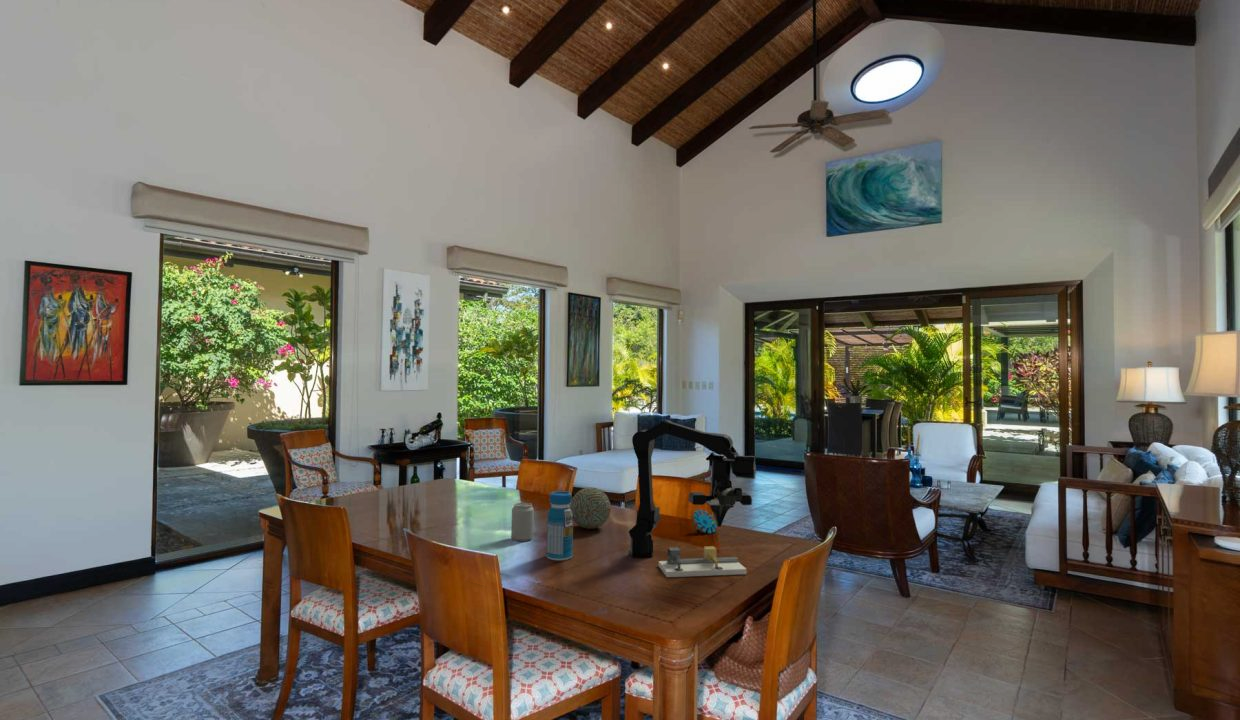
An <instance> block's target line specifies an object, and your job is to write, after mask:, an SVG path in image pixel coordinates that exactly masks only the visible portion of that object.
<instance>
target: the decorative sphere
mask: <svg viewBox="0 0 1240 720" xmlns="http://www.w3.org/2000/svg"><path fill="white" fill-rule="evenodd" d="M610 501H611V500H610V498H609V496H608V495H607V494H606V493H605V492H604V491H603V490H601V489H599V488H597V487H594V486H593V487H592V486H591V487H590V486H589V487H584V488H582V489H580V490H578V491H577V492H576V493H575V494H574V496H572V497H571V504H570V505H569V506H570V507H571V509H572V511H573V518H572V520H573V522H575V524H577V525H578V526H580V528H583V529H587V530H593V529H597V528H599V527H601V526H603V525H604V524H605V523H606V522H607V521H608V519H609V517H610V514H611V502H610Z"/></svg>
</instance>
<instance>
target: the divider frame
mask: <svg viewBox="0 0 1240 720" xmlns="http://www.w3.org/2000/svg"><path fill="white" fill-rule="evenodd" d="M716 560H717V561H718V563H723V562H739V558H738V557H737V556H729V557H716ZM666 561H667V564H677V565H678V568H680V567H681V565H680V564H693V563H714V562H713V561H712V560H711V559H706V558H705V557H700V558H698V557H697V558H681V549H680V548H679V547H678V546H676V547H667V559H666Z"/></svg>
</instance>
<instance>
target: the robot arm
mask: <svg viewBox="0 0 1240 720" xmlns="http://www.w3.org/2000/svg"><path fill="white" fill-rule="evenodd" d="M666 434H667V435H670V436H673V437H677V438H679V439H683V440H684V441H685V440H686V441H689V442H692V443H694V444H697V445H701V446H703V447H704V448H706V449H707V450H709V451H711V452H710V454H709V455H708V456H707V457H706V458H705V460H706V461H709V462H711V461H712V462H711V477H710V483H711V484H710V487H711V488H710V490H709V494H710V495H709V494H705V493H703V492H702V491H690V492H689V494H688V497H687V499H688V502H690V503H691V504H692V505H698V506H699V505H700V506H703V505H705V504H706V505H707V506H709V507H710V509H711V512H712V514H713V515H712V516H713V517H714V520H715V521H716V523H715V525H716V526H717V528H720V527H722V524H723V522H724V519H725V516H726V515H727V513H728V511H729V510H730V509H731V508H734V506H735V505H736V502H737V503H738V502H739V503H740V504H741V505H742V506H752V505H753V499H752V496H751V495H750V494H748V493H746V492H745V491H744V492H743V489H742V487H734V488H733V485H732V480H731V474H733V475H734V476H735V478H740V479H751V480H755V479H756V473H757V466H756V457H755V456H754V455H739V453H738V451H737V450H736V449H735V447H734V446H733V444H734V442H733V439H732V437H731V436H730V435H727V434H726V433H725V434H724V433H717V432H706V431H702V430H699V429H696V428H692V427H689V426H686V425H684V424H679V423H676V422H674V421H673V422H672V421H671V420H669V419H666V420H662V421H660V423H658V424H656V425H654V426H653V427H651V428H648V429H641V430H640V431H637V432H636V431H635V433H634V434H633V436H632V438H631V443H632V446H633V451H634V454H635V456H636V458H637V459H636V460H637V471H638V474H637V475H638V492H639V493H638V494H639V497H638V498H639V506H638V509H637V513H636V521H635V525H634V526H633V527H632V528H631V529H630V530H628V533H629V536H630V547H629V548H630V549H629V550H628V552H629V553H630V555H631V557H632V558H652V557H654V556H653V553H654V540H653V539H652V535H651V533H652V532H653V530H654V529H655V528H657V526H658V525H659V521H661V517H660V511H661V509H660V506H657V507H656V506H655V505H656V504H655V503H654V493H653V492H654V491H653V490H654V487H653V470H652V469H653V468H652V467H653V466H652V456H653V453H654V448H655V441H656V440H657V439H659V438H660V437H663V436H664V435H666Z"/></svg>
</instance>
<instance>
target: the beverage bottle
mask: <svg viewBox="0 0 1240 720" xmlns="http://www.w3.org/2000/svg"><path fill="white" fill-rule="evenodd" d="M572 495H573V494H572V493H571V492H570V491H564V490H563V491H562V490H560V491H558V490H557V491H552V492H550V493H549V503H550V505H551V506H550V507H549V509H548V511H547V514H546V516H547V520H546V553H545V554H546V558H547V559H548V560H551V561H558V562H559V561H561V562H562V561H567V560H570V559H571V558H572V557H573V541H574V540H573V538H574V525H575V524H574V522H575V521H574V520H573V511H572V509H571V507H570V504H571V501H572V497H573V496H572Z"/></svg>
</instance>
